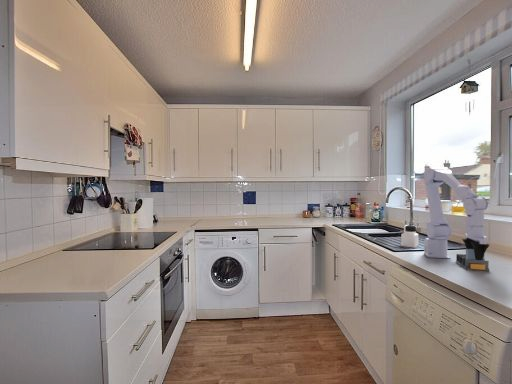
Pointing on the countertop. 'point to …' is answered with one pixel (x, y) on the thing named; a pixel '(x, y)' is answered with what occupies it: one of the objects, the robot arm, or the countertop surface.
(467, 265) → the rack
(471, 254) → the panel
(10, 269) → the countertop surface
